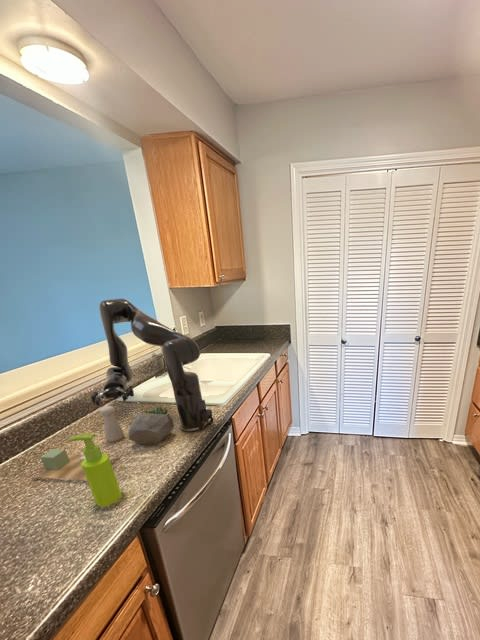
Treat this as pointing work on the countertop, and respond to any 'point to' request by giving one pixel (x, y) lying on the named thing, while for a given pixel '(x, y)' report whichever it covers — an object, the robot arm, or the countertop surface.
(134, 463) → the countertop surface
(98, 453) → the soap dispenser
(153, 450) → the countertop surface
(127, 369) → the robot arm
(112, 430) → the salt shaker
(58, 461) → the sage green cube
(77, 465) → the wood board
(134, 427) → the potted plant
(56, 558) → the countertop surface
